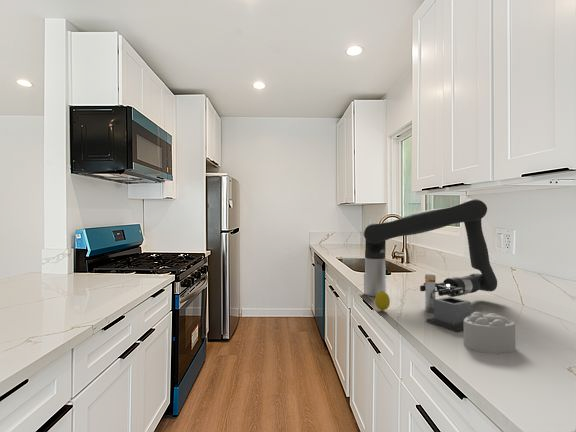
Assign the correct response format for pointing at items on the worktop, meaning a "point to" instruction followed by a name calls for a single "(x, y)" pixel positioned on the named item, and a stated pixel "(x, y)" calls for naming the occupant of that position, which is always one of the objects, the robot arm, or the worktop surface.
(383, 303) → the lemon
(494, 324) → the lumpy-topped squat cylinder
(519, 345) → the worktop surface
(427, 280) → the silver copper-banded cylinder
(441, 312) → the dark grey open bin
